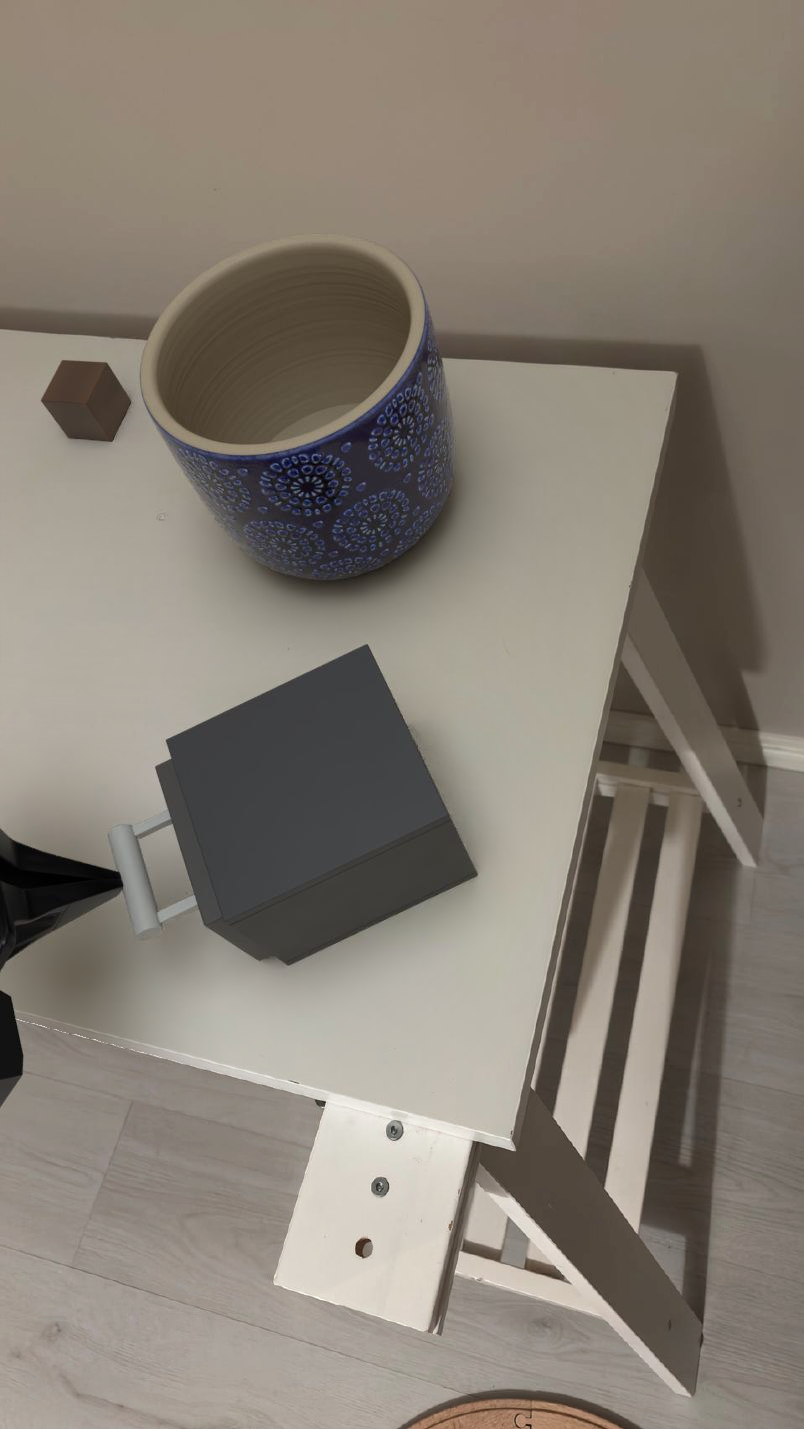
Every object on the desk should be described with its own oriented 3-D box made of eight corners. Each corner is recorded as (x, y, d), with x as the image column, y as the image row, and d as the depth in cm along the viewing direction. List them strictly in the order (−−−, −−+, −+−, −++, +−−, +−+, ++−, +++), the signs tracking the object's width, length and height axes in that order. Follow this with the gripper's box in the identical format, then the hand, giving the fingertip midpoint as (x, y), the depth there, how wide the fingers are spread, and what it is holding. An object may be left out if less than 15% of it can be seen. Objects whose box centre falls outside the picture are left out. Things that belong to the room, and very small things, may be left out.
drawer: (193, 993, 53) (128, 961, 46) (150, 846, 57) (85, 798, 51) (434, 878, 53) (404, 830, 46) (372, 740, 57) (336, 678, 51)
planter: (484, 407, 68) (447, 217, 55) (454, 613, 61) (403, 453, 48) (260, 415, 72) (176, 241, 59) (208, 609, 65) (100, 460, 52)
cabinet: (287, 966, 53) (223, 922, 45) (231, 805, 58) (164, 739, 50) (478, 875, 53) (448, 814, 45) (405, 722, 58) (367, 643, 50)
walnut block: (67, 438, 75) (39, 400, 72) (88, 398, 77) (61, 359, 73) (112, 441, 74) (86, 403, 71) (132, 401, 76) (107, 361, 72)
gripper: (-201, 1064, 31) (241, 981, 41) (-243, 618, 40) (127, 639, 50) (-239, 1181, 37) (147, 1086, 47) (-268, 778, 46) (62, 768, 56)
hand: (120, 883), depth 50 cm, fingers closed, pressing on drawer
